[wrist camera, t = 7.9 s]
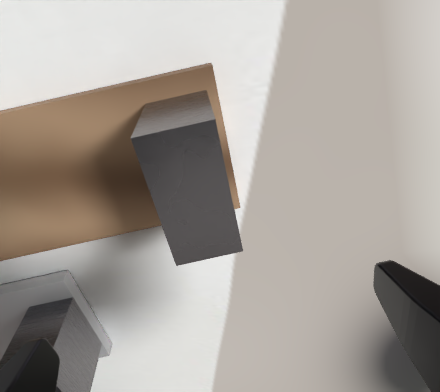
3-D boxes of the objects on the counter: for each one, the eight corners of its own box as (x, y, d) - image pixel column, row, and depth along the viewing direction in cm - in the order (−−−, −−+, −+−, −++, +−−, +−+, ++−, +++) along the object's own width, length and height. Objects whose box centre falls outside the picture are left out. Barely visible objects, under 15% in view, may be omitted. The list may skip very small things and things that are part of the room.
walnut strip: (237, 199, 20) (257, 265, 14) (-90, 271, 20) (-187, 362, 15) (210, 62, 16) (224, 86, 10) (-200, 156, 16) (-386, 225, 11)
